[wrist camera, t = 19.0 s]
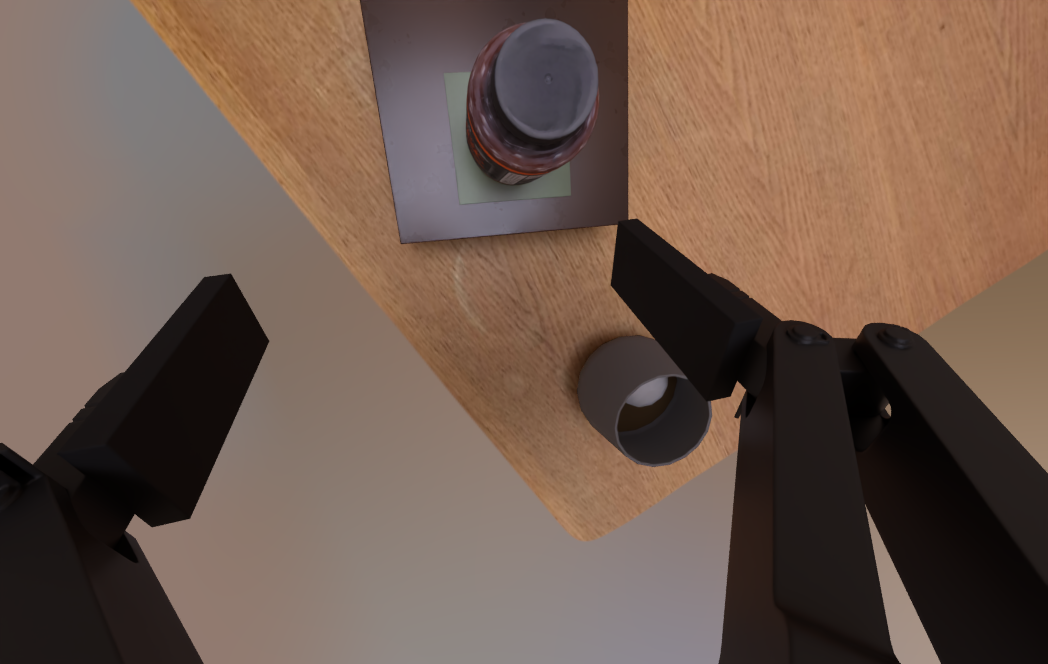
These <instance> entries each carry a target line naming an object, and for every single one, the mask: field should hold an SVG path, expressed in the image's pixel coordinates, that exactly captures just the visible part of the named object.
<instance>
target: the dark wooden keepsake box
mask: <svg viewBox="0 0 1048 664" xmlns="http://www.w3.org/2000/svg"><path fill="white" fill-rule="evenodd" d="M360 4H361V10H362V16H363V22H364V28H365V34H366V40H367V45H368V51H369V57H370V63H371V69H372V75H373V81H374V87H375V93H376V99H377V105H378V111H379V117H380V123H381V129H382V135H383V141H384V147H385V153H386V158H387V164H388V170H389V176H390V182H391V188H392V194H393V200H394V206H395V212H396V218H397V224H398V230H399V236H400V242H401V244H407V243H418V242H430V241H441V240H452V239H463V238H474V237H486V236H497V235H508V234H519V233H530V232H542V231H553V230H564V229H575V228H586V227H598V226H609V225H618V221H623V220H628V0H360ZM544 18H547V19H555V20H559V21H562V22H564V23H566V24H568V25H570V26H571V27H572V28H574V29H576V30H577V31H578V32H579V33H580V34H581V35H582V36H583V37H584V39H585V40H586V42H587V43H588V44H589V46H590V47H591V50H592V52H593V54H594V57H595V60H596V64H597V67H598V89H599V109H598V115H597V120H596V124H595V126H594V129H593V132H592V134H591V136H590V138H589V139H588V141H587V143H586V145H585V146H584V147H583V149H582V150H581V151H580V152H579V153H578V154H577V155H576V156H575V157H574V158H573V159H572V160H571V161H569V162H568V163H566V164H565V165H563V166H561V167H560V168H558V169H556V170H554V171H552V172H550V173H548V174H546V175H544V176H542V177H540V178H538V179H536V180H534V181H532V182H529V183H526V184H521V185H507V184H503V183H500V182H498V181H495V180H493V179H492V178H490V177H488V176H487V175H486V174H485V173H484V172H483V171H482V170H481V169H480V168H479V167H478V165H477V164H476V162H475V161H474V159H473V157H472V155H471V153H470V150H469V148H468V144H467V138H466V100H467V89H468V82H469V77H470V74H471V71H472V68H473V65H474V63H475V60H476V59H477V57H478V55H479V53H480V51H481V50H482V49H483V48H484V46H485V45H486V44H487V43H488V42H489V41H490V40H491V39H492V38H493V37H494V36H495V35H497V34H498V33H499V32H501V31H503V30H505V29H506V28H508V27H511V26H513V25H516V24H520V23H527V22H530V21H532V20H536V19H544Z"/></svg>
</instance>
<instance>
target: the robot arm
mask: <svg viewBox="0 0 1048 664" xmlns="http://www.w3.org/2000/svg"><path fill="white" fill-rule="evenodd" d="M611 286H612V287H613V289H614V290H615V291H616V292H617V293H618V295H619V296H620V297H621V298H622V300H623V301H624V302H625V303H626V304H627V306H628V307H629V308H630V309H631V310H632V312H633V313H634V314H635V315H636V317H637V318H638V319H639V320H640V321H641V323H642V324H643V325H644V326H645V328H646V329H647V330H648V331H649V332H650V334H651V335H652V336H653V337H654V338H655V340H656V341H657V342H658V343H659V345H660V346H661V347H662V348H663V349H664V351H665V352H666V353H667V354H668V355H669V357H670V358H671V359H672V360H673V362H674V363H675V364H676V365H677V366H678V368H679V369H680V370H681V371H682V372H683V374H684V375H685V376H686V377H687V379H688V380H689V381H690V382H691V383H692V385H693V386H694V387H695V388H696V390H697V391H698V392H699V393H700V394H701V396H702V397H703V398H704V399H705V400H706V402H708V401H712V400H717V399H721V398H726V397H730V396H731V394H732V392H733V389H734V387H735V385H736V382H737V381H738V382H739V383H740V384H741V385H742V386H743V387H744V388H745V389H746V392H745V394H744V396H743V399H742V401H741V403H740V405H739V408H738V410H737V412H736V414H735V416H734V417H735V418H739V416H740V415H741V420H740V432H739V444H738V456H737V467H736V479H735V491H734V503H733V515H732V528H731V539H730V551H729V563H728V575H727V586H726V599H725V610H724V623H723V634H722V646H721V654H720V660H719V664H901V663H899V661H898V659H897V658H896V656H895V654H894V652H893V648H892V645H891V641H890V635H889V630H888V625H887V619H886V614H885V609H884V603H883V598H882V593H881V587H880V582H879V577H878V571H877V566H876V560H875V555H874V550H873V544H872V539H871V534H870V528H869V524H868V518H867V512H866V507H867V509H868V511H869V513H870V515H871V517H872V519H873V521H874V523H875V525H876V528H877V530H878V532H879V534H880V536H881V538H882V540H883V542H884V545H885V547H886V549H887V551H888V553H889V555H890V557H891V559H892V561H893V563H894V566H895V568H896V570H897V572H898V574H899V576H900V578H901V580H902V582H903V584H904V587H905V589H906V591H907V592H908V595H909V597H910V599H911V601H912V603H913V605H914V607H915V609H916V612H917V614H918V616H919V618H920V620H921V622H922V624H923V627H924V629H925V631H926V633H927V635H928V637H929V639H930V641H931V643H932V645H933V648H934V650H935V652H936V654H937V656H938V658H939V660H940V662H941V664H1048V473H1047V472H1046V471H1045V470H1044V469H1043V468H1042V467H1041V465H1040V464H1039V463H1038V462H1037V461H1036V460H1035V459H1034V458H1033V457H1032V456H1031V455H1030V453H1029V452H1028V451H1027V450H1026V449H1025V448H1024V447H1023V446H1022V445H1021V444H1020V443H1019V441H1018V440H1017V439H1016V438H1015V437H1014V436H1013V435H1012V434H1011V433H1010V432H1009V431H1008V429H1007V428H1006V427H1005V426H1004V425H1003V424H1002V423H1001V422H1000V421H999V420H998V419H997V417H996V416H995V415H994V414H993V413H992V412H991V411H990V410H989V409H988V408H987V407H986V405H985V404H984V403H983V402H982V401H981V400H980V399H979V398H978V397H977V396H976V394H975V393H974V392H973V391H972V390H971V389H970V388H969V387H968V386H967V385H966V384H965V382H964V381H963V380H962V379H961V378H960V377H959V376H958V375H957V374H956V373H955V372H954V370H953V369H952V368H951V367H950V366H949V365H948V364H947V363H946V362H945V361H944V360H943V358H942V357H941V356H940V355H939V354H938V353H937V352H936V351H935V350H934V349H933V348H932V347H931V346H930V344H929V343H928V342H927V341H926V340H924V339H923V338H922V337H921V336H919V335H918V334H916V333H914V332H912V331H910V330H909V329H907V328H904V327H900V326H898V325H894V324H886V323H870V324H868V325H865V326H864V328H863V329H862V331H861V333H860V334H859V336H858V337H857V339H850V338H832V337H831V336H830V335H829V334H828V333H827V332H826V331H824V330H823V329H821V328H819V327H817V326H815V325H812V324H809V323H806V322H802V321H793V320H789V321H781V320H780V319H779V318H777V317H776V316H775V315H773V314H772V313H771V312H769V311H768V310H767V309H766V308H764V307H763V306H762V305H760V304H759V303H758V302H756V301H755V300H754V299H752V298H749V296H748V295H747V294H746V293H744V292H743V291H740V289H739V288H738V287H736V286H735V285H734V284H733V283H731V282H730V281H729V280H727V279H724V278H722V277H720V276H717V275H715V274H713V273H711V274H707V273H706V272H704V271H703V270H702V269H701V268H699V267H698V266H697V265H695V264H694V263H693V262H692V261H690V260H689V259H688V258H687V257H685V256H684V255H683V254H682V253H680V252H679V251H678V250H676V249H675V248H674V247H673V246H671V245H670V244H669V243H668V242H666V241H665V240H664V239H662V238H661V237H660V236H659V235H657V234H656V233H655V232H654V231H652V230H651V229H650V228H649V227H647V226H646V225H645V224H643V223H642V222H641V221H640V220H638V219H630V220H623V221H618V227H617V236H616V244H615V253H614V262H613V270H612V279H611ZM268 343H269V340H268V338H267V336H266V335H265V333H264V331H263V329H262V327H261V326H260V324H259V322H258V320H257V319H256V317H255V315H254V313H253V312H252V310H251V308H250V306H249V305H248V303H247V301H246V299H245V298H244V296H243V294H242V292H241V290H240V289H239V287H238V285H237V283H236V282H235V280H234V278H233V276H232V275H231V274H224V275H217V276H209V277H204V278H203V279H202V281H201V282H200V283H199V284H198V286H197V287H196V288H195V289H194V290H193V291H192V292H191V294H190V295H189V296H188V297H187V299H186V300H185V301H184V302H183V303H182V304H181V306H180V307H179V308H178V309H177V310H176V312H175V313H174V314H173V315H172V316H171V318H170V319H169V320H168V321H167V322H166V324H165V325H164V326H163V327H162V328H161V330H160V331H159V332H158V333H157V334H156V335H155V337H154V338H153V339H152V340H151V341H150V343H149V344H148V345H147V346H146V347H145V349H144V350H143V351H142V352H141V353H140V355H139V356H138V357H137V358H136V359H135V361H134V362H133V363H132V364H131V365H130V367H129V368H128V369H127V370H126V371H125V372H124V373H120V374H119V375H117V376H116V377H114V378H113V379H112V380H110V381H109V382H108V383H106V384H105V385H104V386H102V387H101V388H100V389H98V391H97V392H96V393H95V394H94V395H93V396H92V397H91V399H90V400H89V401H88V402H87V403H86V404H85V408H83V409H81V410H80V411H79V413H77V415H76V416H75V417H74V418H73V422H72V423H69V424H68V425H67V426H66V427H65V428H64V430H63V431H62V432H61V433H60V434H59V435H58V436H57V438H56V439H55V440H54V441H53V442H52V443H51V445H50V446H49V447H48V448H47V449H46V450H45V451H44V453H43V454H42V455H41V456H40V457H39V459H37V461H36V462H35V463H34V464H33V465H32V464H31V463H30V462H28V461H27V460H25V459H24V458H22V457H21V456H20V455H18V454H17V453H16V452H14V451H13V450H11V449H10V448H8V447H7V446H6V445H4V444H3V443H0V664H203V662H202V660H201V658H200V656H199V654H198V652H197V651H196V649H195V647H194V645H193V643H192V641H191V639H190V638H189V636H188V634H187V632H186V630H185V628H184V627H183V625H182V623H181V621H180V619H179V618H178V616H177V614H176V612H175V610H174V608H173V607H172V605H171V603H170V601H169V599H168V597H167V595H166V594H165V592H164V590H163V588H162V586H161V584H160V582H159V581H158V579H157V577H156V575H155V573H154V572H153V570H152V568H151V566H150V564H149V562H148V561H147V559H146V557H145V555H144V553H143V551H142V549H141V548H140V546H139V544H138V542H137V540H136V539H135V538H134V537H133V536H132V535H130V534H129V533H127V532H126V531H125V530H126V528H127V526H128V525H129V523H130V521H131V519H132V518H133V516H134V514H136V515H137V516H138V517H139V518H141V519H142V520H143V521H144V522H146V523H147V524H148V525H150V526H151V527H156V526H160V525H164V524H169V523H173V522H177V521H182V520H186V519H190V518H191V515H192V513H193V511H194V509H195V506H196V504H197V502H198V500H199V497H200V495H201V493H202V491H203V489H204V486H205V484H206V482H207V480H208V477H209V475H210V473H211V470H212V468H213V466H214V464H215V462H216V459H217V457H218V455H219V453H220V450H221V448H222V446H223V444H224V442H225V439H226V437H227V434H228V433H229V430H230V428H231V426H232V424H233V421H234V419H235V417H236V415H237V412H238V410H239V408H240V405H241V403H242V401H243V399H244V397H245V394H246V392H247V390H248V388H249V386H250V383H251V381H252V379H253V377H254V374H255V372H256V370H257V368H258V365H259V363H260V361H261V359H262V356H263V354H264V352H265V350H266V347H267V345H268ZM888 404H890V406H891V417H890V416H889V414H888V413H887V411H886V410H885V408H886V406H887V405H888ZM865 505H866V507H865Z"/></svg>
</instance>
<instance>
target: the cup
mask: <svg viewBox="0 0 1048 664" xmlns="http://www.w3.org/2000/svg"><path fill="white" fill-rule="evenodd" d="M577 394H578V398H579V403H580V408H581V411H582V412H583V414H584V415H585V417H586V418H587V420H588V421H589V422H590V424H591V425H592V426H593V427H594V428H595V429H596V430H597V431H598V432H599V433H601V434H602V435H603V436H604V437H605V438H606V439H607V440H608V441H609V442H610V443H612V444H613V445H614V446H615V447H616V448H617V449H618V450H619V451H620V452H622V453H623V454H624V455H625V456H626V457H628V458H629V459H631V460H633V461H634V462H636V463H637V464H641V465H646V466H651V467H656V466H663V465H670V464H672V463H674V462H676V461H678V460H681V459H683V458H685V457H686V456H687V455H689V454H690V453H691V452H692V451H693V450H694V449H696V448H697V447H698V446H699V444H700V443H701V441H702V440H703V438H704V437H705V435H706V434H707V432H708V429H709V425H710V422H711V418H712V409H711V401H708V402H706V400H705V399H704V398H703V397H702V396H701V394H700V393H699V392H698V391H697V390H696V388H695V387H694V386H693V385H692V383H691V382H690V381H689V380H688V379H687V377H686V376H685V375H684V374H683V372H682V371H681V370H680V369H679V368H678V366H677V365H676V364H675V363H674V362H673V360H672V359H671V358H670V357H669V355H668V354H667V353H666V352H665V351H664V349H663V348H662V347H661V346H660V345H659V343H658V342H657V341H656V340H654V339H651V338H647V337H643V336H640V335H635V336H624V337H618V338H616V339H614V340H611V341H609V342H607V343H605V344H603V345H601V346H600V347H599V348H598V349H596V350H595V351H594V352H593V353H592V354H591V355H590V356H589V358H588V359H587V361H586V363H585V365H584V367H583V368H582V370H581V372H580V376H579V382H578V388H577Z"/></svg>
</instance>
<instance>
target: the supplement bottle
mask: <svg viewBox="0 0 1048 664" xmlns="http://www.w3.org/2000/svg"><path fill="white" fill-rule="evenodd" d="M598 109H599V89H598V67H597V64H596V60H595V57H594V54H593V52H592V50H591V47H590V46H589V44H588V43H587V42H586V40H585V39H584V37H583V36H582V35H581V34H580V33H579V32H578V31H577V30H576V29H574V28H572V27H571V26H570V25H568V24H566V23H564V22H562V21H559V20H555V19H547V18H544V19H536V20H532V21H530V22H527V23H520V24H516V25H513V26H511V27H508V28H506V29H505V30H503V31H501V32H499V33H498V34H497V35H495V36H494V37H493V38H492V39H491V40H490V41H489V42H488V43H487V44H486V45H485V46H484V48H483V49H482V50H481V51H480V53H479V55H478V57H477V59H476V60H475V63H474V65H473V68H472V71H471V74H470V77H469V82H468V89H467V100H466V138H467V144H468V148H469V150H470V153H471V155H472V157H473V159H474V161H475V162H476V164H477V165H478V167H479V168H480V169H481V170H482V171H483V172H484V173H485V174H486V175H487V176H488V177H490V178H492V179H493V180H495V181H498V182H500V183H503V184H507V185H521V184H526V183H529V182H532V181H534V180H536V179H538V178H540V177H542V176H544V175H546V174H548V173H550V172H552V171H554V170H556V169H558V168H560V167H561V166H563V165H565V164H566V163H568V162H569V161H571V160H572V159H573V158H574V157H575V156H576V155H577V154H578V153H579V152H580V151H581V150H582V149H583V147H584V146H585V145H586V143H587V141H588V139H589V138H590V136H591V134H592V132H593V129H594V126H595V124H596V120H597V115H598Z"/></svg>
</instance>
